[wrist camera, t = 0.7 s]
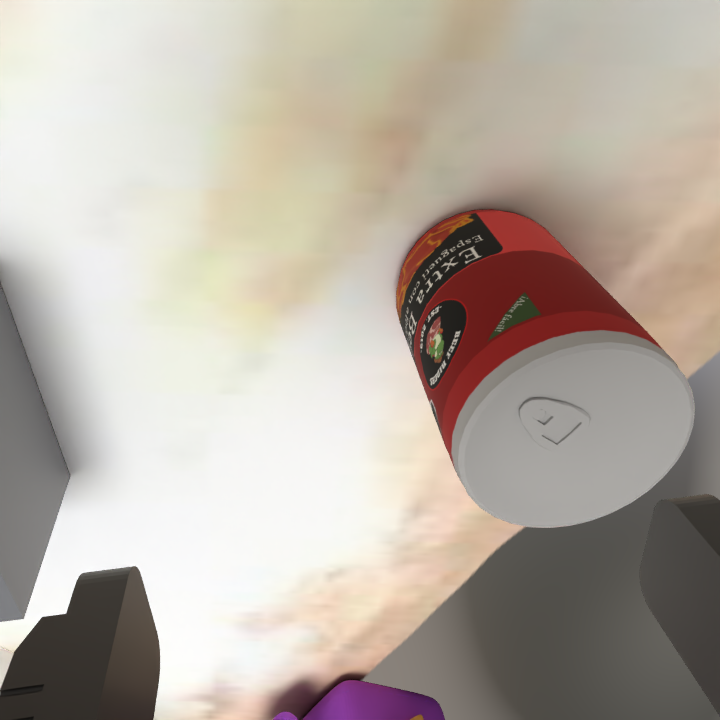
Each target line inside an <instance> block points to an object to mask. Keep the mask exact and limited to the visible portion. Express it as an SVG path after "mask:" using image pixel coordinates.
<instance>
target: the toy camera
mask: <svg viewBox="0 0 720 720" xmlns="http://www.w3.org/2000/svg"><path fill="white" fill-rule="evenodd" d="M273 720H298V719H297V717H296V716H295V715H293V714H292V713H290V712H281V713H279V714H278V715H277V716H275V717H274V719H273ZM302 720H445V718H444V715H443V712H442V709H441V707H440V705H439V704H438V702H437V701H436V700H434V699H433V698H431V697H428V696H425V695H422V694H418V693H414V692H410V691H405V690H401V689H396V688H392V687H387V686H383V685H378V684H373V683H369V682H364V681H357V680H347V681H344V682H341V683H340V684H338V685H337V686H336V687H335V688H333V689H332V690H331V691H330V692H329V693H328V694H327V695H326V696H325V697H324V698H323V699H322V700H321V701H320V702H319V703H318V704H317V705H316V706H315V707H314V708H313V709H312V710H311V711H310V712H309V713H308V714H307V715H306V716H305V717H304V718H303V719H302Z"/></svg>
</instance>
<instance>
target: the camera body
mask: <svg viewBox="0 0 720 720" xmlns="http://www.w3.org/2000/svg"><path fill="white" fill-rule="evenodd" d="M69 478H70V475H69V472H68V469H67V466H66V464H65V461H64V458H63V455H62V453H61V450H60V447H59V444H58V441H57V439H56V436H55V433H54V430H53V428H52V425H51V422H50V419H49V417H48V414H47V411H46V408H45V405H44V403H43V400H42V397H41V394H40V392H39V389H38V386H37V383H36V381H35V378H34V375H33V372H32V370H31V367H30V364H29V361H28V358H27V356H26V353H25V350H24V347H23V345H22V342H21V339H20V336H19V334H18V331H17V328H16V325H15V322H14V320H13V317H12V314H11V311H10V309H9V306H8V303H7V300H6V298H5V295H4V292H3V289H2V286H1V284H0V622H2V621H10V620H18V619H24V616H25V613H26V610H27V607H28V604H29V601H30V598H31V595H32V592H33V589H34V586H35V582H36V579H37V576H38V573H39V570H40V567H41V564H42V561H43V558H44V555H45V552H46V549H47V546H48V543H49V540H50V536H51V533H52V530H53V527H54V524H55V521H56V518H57V515H58V512H59V509H60V506H61V503H62V500H63V497H64V494H65V491H66V487H67V484H68V481H69Z"/></svg>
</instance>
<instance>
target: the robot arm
mask: <svg viewBox="0 0 720 720" xmlns="http://www.w3.org/2000/svg"><path fill="white" fill-rule="evenodd" d="M640 584H641V588H642V592H643V596H644V598H645V601H646V603H647V605H648V607H649V609H650V610H651V612H652V613H653V615H654V616H655V618H656V619H657V621H658V622H659V624H660V626H661V627H662V629H663V630H664V632H665V633H666V635H667V636H668V637H669V639H670V641H671V642H672V644H673V646H674V647H675V649H676V650H677V652H678V653H679V655H680V656H681V658H682V659H683V661H684V662H685V664H686V665H687V667H688V668H689V670H690V671H691V673H692V675H693V676H694V678H695V679H696V681H697V682H698V684H699V685H700V686H701V688H702V690H703V691H704V693H705V694H706V696H707V697H708V699H709V700H710V702H711V704H712V705H713V706H714V708H715V709H716V711H717V713H718V714H719V715H720V500H718V499H717V498H716V497H714V496H712V495H709V494H704V495H696V496H689V497H681V498H673V499H665V500H661V501H659V502H658V503H657V505H656V506H655V508H654V512H653V516H652V520H651V524H650V528H649V532H648V537H647V541H646V545H645V549H644V553H643V557H642V561H641V566H640ZM159 674H160V648H159V640H158V635H157V631H156V627H155V623H154V620H153V616H152V613H151V609H150V606H149V602H148V599H147V595H146V591H145V588H144V584H143V581H142V577H141V574H140V571H139V569H138V568H137V567H136V566H134V567H126V568H118V569H110V570H103V571H95V572H87V573H82V574H81V575H80V576H79V578H78V580H77V582H76V585H75V588H74V591H73V594H72V597H71V601H70V604H69V607H68V610H67V613H66V614H62V615H55V616H47V617H42V618H41V619H40V621H39V622H38V623H37V624H36V626H35V627H34V628H33V629H32V631H31V632H30V633H29V634H28V636H27V637H26V638H25V639H24V640H23V642H22V643H21V644H20V645H19V647H18V648H17V649H16V650H15V652H14V654H13V657H12V659H11V662H10V665H9V667H8V670H7V673H6V675H5V678H4V681H3V683H2V686H1V689H0V720H153V718H154V711H155V704H156V697H157V690H158V683H159Z"/></svg>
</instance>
